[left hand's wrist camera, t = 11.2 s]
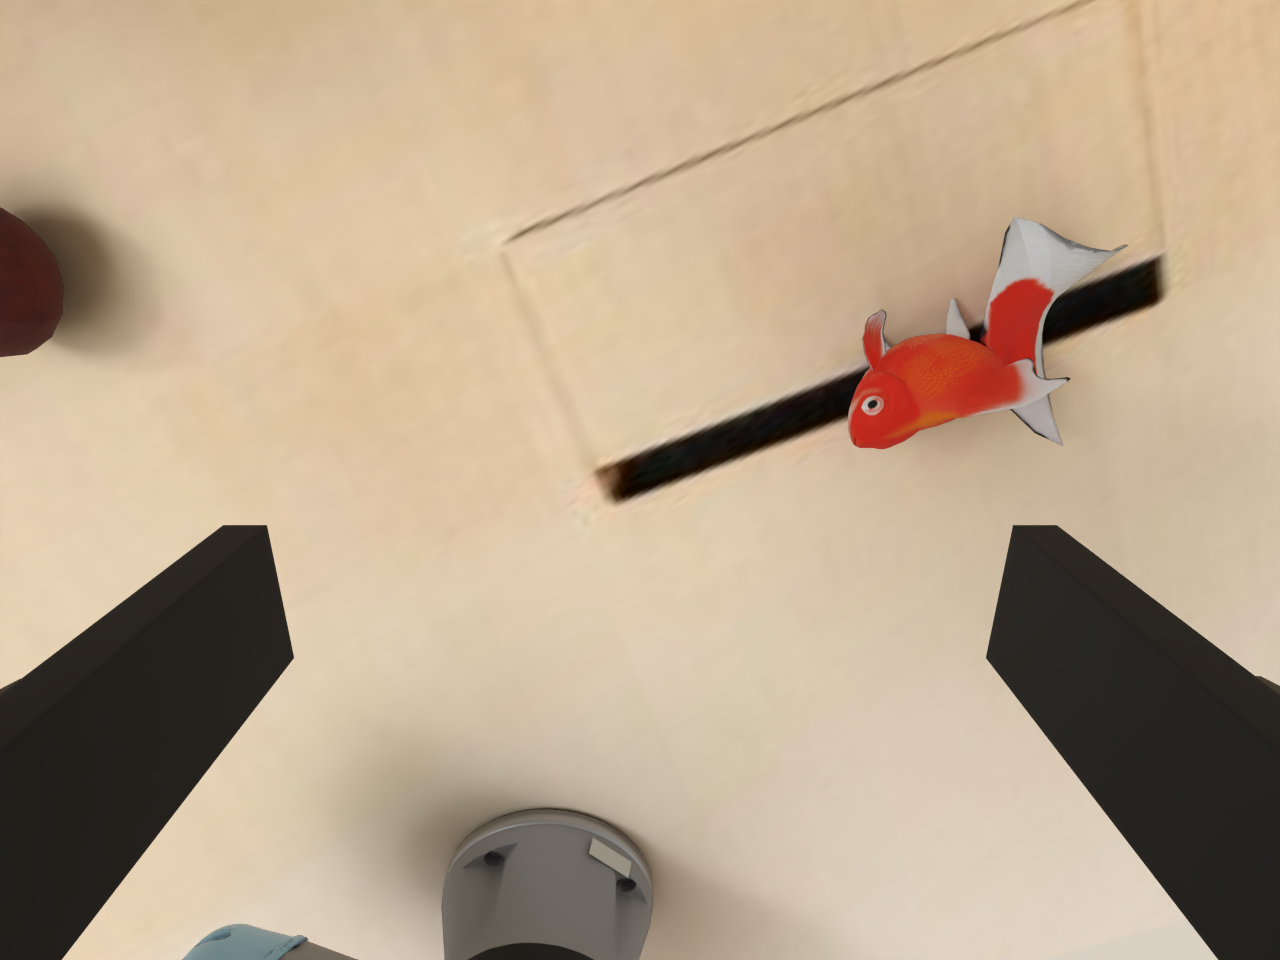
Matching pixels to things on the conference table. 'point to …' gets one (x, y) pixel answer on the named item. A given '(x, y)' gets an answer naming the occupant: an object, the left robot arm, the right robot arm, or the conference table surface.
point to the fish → (974, 349)
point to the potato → (26, 288)
